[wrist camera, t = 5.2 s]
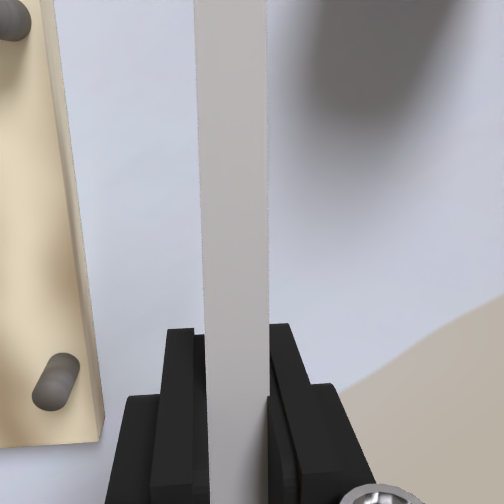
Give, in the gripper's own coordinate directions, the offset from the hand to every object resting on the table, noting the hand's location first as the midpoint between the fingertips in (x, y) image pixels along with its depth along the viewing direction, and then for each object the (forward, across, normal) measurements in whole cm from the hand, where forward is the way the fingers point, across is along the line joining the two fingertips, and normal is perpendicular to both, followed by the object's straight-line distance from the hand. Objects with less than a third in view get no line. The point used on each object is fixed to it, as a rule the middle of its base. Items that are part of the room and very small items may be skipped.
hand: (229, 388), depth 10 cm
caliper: (+1, 0, 0) cm, 1 cm away
